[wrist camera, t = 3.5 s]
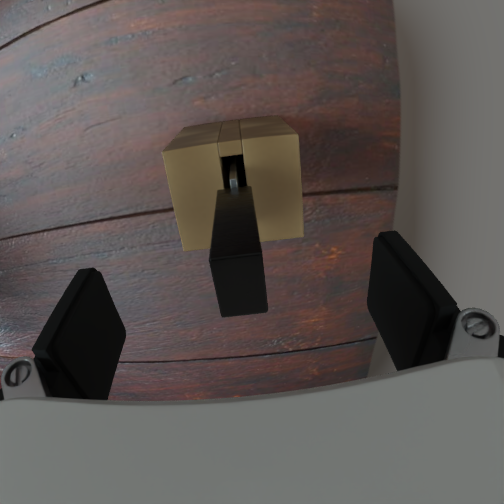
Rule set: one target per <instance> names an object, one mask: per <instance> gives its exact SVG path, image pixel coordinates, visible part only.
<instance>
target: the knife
mask: <svg viewBox="0 0 504 504" xmlns="http://www.w3.org/2000/svg"><path fill="white" fill-rule="evenodd" d="M230 185H231V188H229V189H221V190H217V196H216V204H215V212H214V220H213V228H212V237H211V245H210V254H209V263H210V268H211V272H212V277H213V282H214V286H215V291H216V295H217V300H218V304H219V308H220V313H221V316H222V317H232V316H241V315H250V314H259V313H266V312H267V311H268V303H267V294H266V285H265V275H264V266H263V257H262V249H261V243H260V237H259V230H258V224H257V218H256V211H255V205H254V199H253V192H252V187H251V186H244V187H241V181H240V172H239V164H238V156H237V155H232V156H231V157H230Z"/></svg>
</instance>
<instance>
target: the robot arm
mask: <svg viewBox="0 0 504 504" xmlns="http://www.w3.org/2000/svg"><path fill="white" fill-rule="evenodd" d="M456 305H457V303H456V302H455V300H454V299H453V298H452V297H451V295H450V294H449V293H448V291H447V290H446V289H445V288H444V286H443V285H442V284H441V283H440V281H439V280H438V279H437V278H436V277H435V275H434V274H433V273H432V271H431V270H430V269H429V268H428V267H427V265H426V264H425V263H424V262H423V261H422V259H421V258H420V257H419V256H418V255H417V254H416V252H415V251H414V250H413V249H412V248H411V247H410V246H409V244H408V243H407V242H406V241H405V240H404V239H403V238H402V237H401V235H400V234H399V233H398V232H397V231H387V232H380V233H379V235H378V237H375V238H374V242H373V252H372V263H371V272H370V281H369V289H368V297H367V306H368V310H369V312H370V314H371V316H372V318H373V320H374V322H375V324H376V326H377V328H378V330H379V332H380V335H381V337H382V339H383V341H384V343H385V345H386V347H387V349H388V352H389V354H390V355H391V358H392V360H393V362H394V365H395V367H396V369H397V372H392V373H388V374H383V375H379V376H374V377H369V378H364V379H359V380H354V381H349V382H344V383H339V384H333V385H328V386H322V387H316V388H309V389H303V390H296V391H288V392H281V393H273V394H264V395H255V396H245V397H234V398H221V399H205V400H182V401H111V400H107V399H108V396H109V392H110V389H111V385H112V381H113V378H114V374H115V371H116V368H117V364H118V361H119V358H120V354H121V351H122V348H123V345H124V342H125V338H126V330H125V327H124V325H123V323H122V320H121V318H120V316H119V314H118V312H117V309H116V307H115V305H114V302H113V300H112V298H111V295H110V293H109V291H108V288H107V286H106V283H105V281H104V278H103V276H102V274H101V272H100V271H97V270H96V269H95V268H86V269H80V270H78V272H77V273H76V275H75V276H74V278H73V279H72V281H71V282H70V284H69V286H68V287H67V289H66V290H65V292H64V294H63V295H62V297H61V299H60V300H59V302H58V304H57V305H56V307H55V309H54V310H53V312H52V314H51V316H50V317H49V319H48V321H47V323H46V324H45V326H44V328H43V330H42V332H41V333H40V335H39V337H38V339H37V341H36V343H35V344H34V346H33V348H32V351H33V353H34V354H35V358H34V360H33V359H32V358H30V357H27V356H23V357H19V358H17V359H14V360H13V361H12V362H10V363H9V364H8V365H7V366H6V368H5V369H4V371H3V373H2V376H1V385H2V388H1V389H0V504H504V336H502V335H500V328H499V324H498V322H497V320H496V319H495V318H494V317H493V316H492V315H491V314H490V313H488V312H487V311H484V310H482V309H478V308H467V309H465V310H462V311H460V310H459V308H458V307H457V306H456Z"/></svg>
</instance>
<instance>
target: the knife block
mask: <svg viewBox="0 0 504 504" xmlns="http://www.w3.org/2000/svg"><path fill="white" fill-rule="evenodd" d="M240 154H243V158H244V166H245V174H246V182H247V185H241V187H244V186H251V187H252V192H253V199H254V205H255V211H256V218H257V224H258V230H259V237H260V242H264V241H272V240H281V239H289V238H298V237H303V236H304V225H303V202H302V182H301V165H300V149H299V135H298V133H296V132H295V131H294V130H293V129H292V128H291V127H290V126H289V125H288V124H287V123H286V122H285V121H283V120H282V119H281V118H280V117H279V116H278V115H275V116H265V117H255V118H246V119H240V120H230V121H223V122H215V123H208V124H202V125H196V126H190V127H184V128H183V129H182V130H181V132H180V133H179V134H178V135H177V136H176V137H175V138H174V139H173V140H172V141H171V142H170V143H169V145H168V146H167V147H166V148H165V149H164V150H163V151H162V156H163V161H164V165H165V170H166V175H167V180H168V185H169V189H170V194H171V198H172V203H173V207H174V212H175V216H176V220H177V225H178V229H179V233H180V237H181V242H182V246H183V250H184V251H192V250H200V249H208V248H210V245H211V237H212V228H213V220H214V212H215V204H216V196H217V190H221V189H229V188H231V185H230V171H229V164H228V157H227V156H232V155H240Z"/></svg>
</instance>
